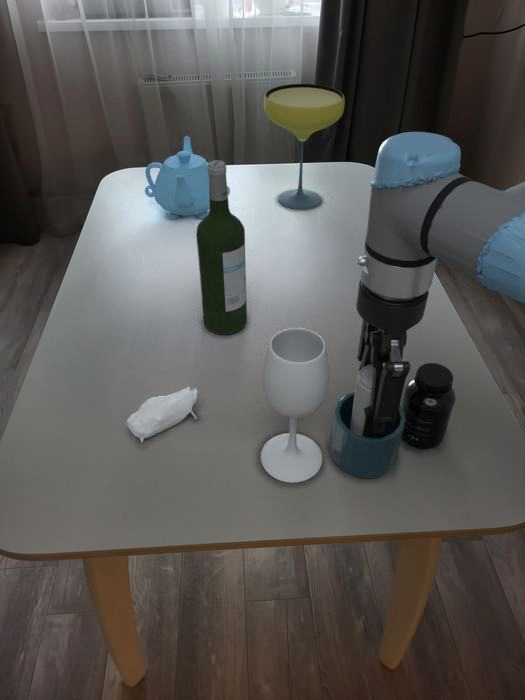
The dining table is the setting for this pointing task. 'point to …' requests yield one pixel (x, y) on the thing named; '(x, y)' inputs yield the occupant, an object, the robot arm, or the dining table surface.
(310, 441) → the wineglass
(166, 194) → the teapot
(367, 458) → the cup
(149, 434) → the white oblong lump
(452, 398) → the supplement bottle
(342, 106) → the cocktail glass
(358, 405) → the beverage can
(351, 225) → the dining table surface
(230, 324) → the wine bottle
